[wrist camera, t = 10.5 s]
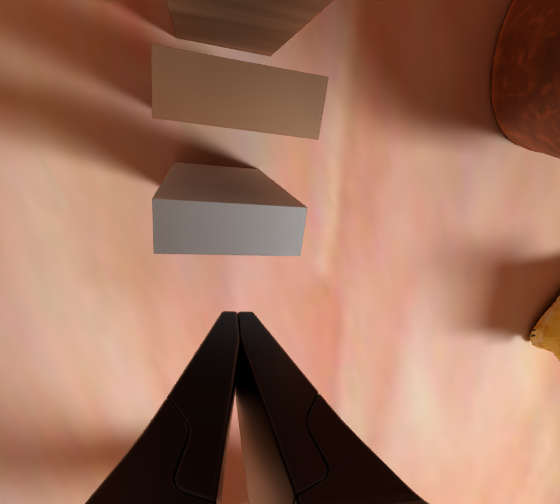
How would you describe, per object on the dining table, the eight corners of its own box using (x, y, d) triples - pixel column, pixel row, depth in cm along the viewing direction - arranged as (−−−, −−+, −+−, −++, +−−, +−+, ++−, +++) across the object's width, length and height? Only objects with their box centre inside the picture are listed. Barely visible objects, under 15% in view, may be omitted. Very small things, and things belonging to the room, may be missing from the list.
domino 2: (262, 130, 19) (318, 139, 10) (174, 119, 18) (152, 117, 9) (265, 97, 19) (328, 77, 10) (175, 83, 18) (151, 44, 9)
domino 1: (255, 197, 21) (300, 256, 12) (174, 192, 20) (153, 253, 11) (258, 169, 20) (307, 207, 11) (174, 161, 19) (152, 198, 10)
